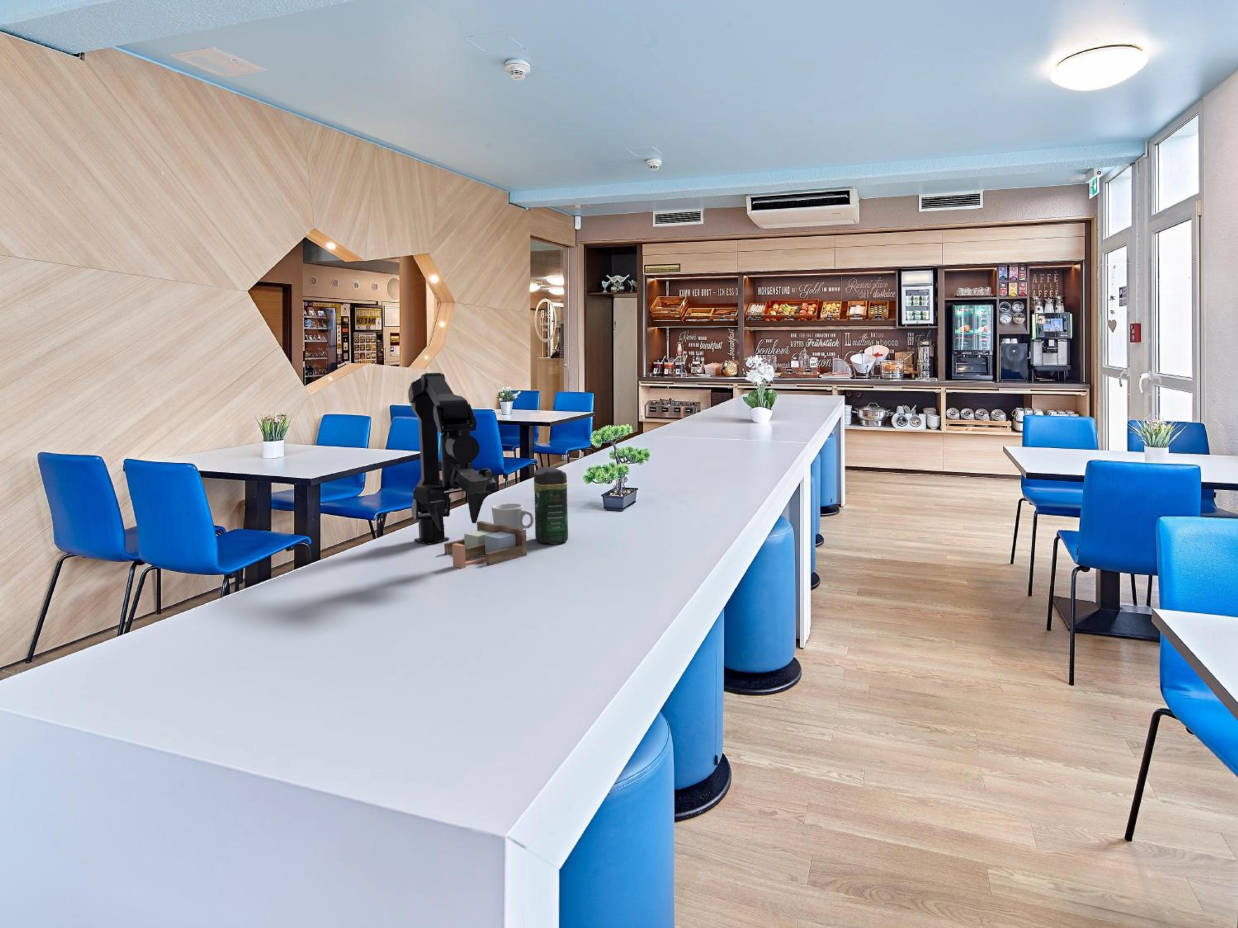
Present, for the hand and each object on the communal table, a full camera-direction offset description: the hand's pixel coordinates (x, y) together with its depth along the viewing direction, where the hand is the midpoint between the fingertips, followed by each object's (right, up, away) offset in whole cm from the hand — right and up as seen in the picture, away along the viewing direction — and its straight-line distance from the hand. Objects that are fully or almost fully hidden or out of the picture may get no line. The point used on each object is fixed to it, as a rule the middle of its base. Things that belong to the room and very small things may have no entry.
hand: (457, 526), depth 177 cm
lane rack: (+4, -8, +11) cm, 14 cm away
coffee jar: (+19, -6, +24) cm, 31 cm away
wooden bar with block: (+5, -8, +6) cm, 11 cm away
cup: (+9, -5, +29) cm, 31 cm away
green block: (+2, -7, +15) cm, 17 cm away
